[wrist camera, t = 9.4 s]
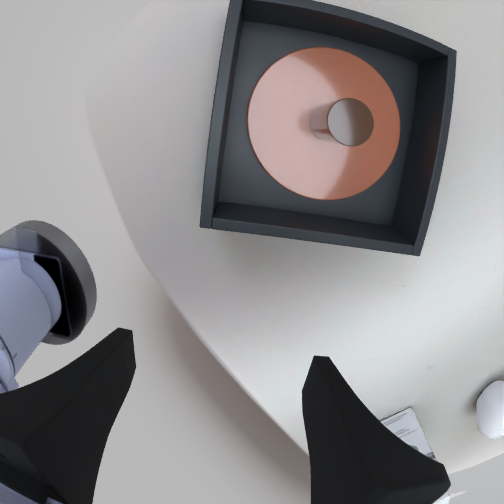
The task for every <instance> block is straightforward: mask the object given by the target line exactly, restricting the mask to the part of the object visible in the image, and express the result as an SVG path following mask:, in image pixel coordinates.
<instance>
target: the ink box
mask: <svg viewBox="0 0 504 504" xmlns="http://www.w3.org/2000/svg"><path fill="white" fill-rule="evenodd" d="M380 422H381V423H382V424H383V425H384V426H385V427H387V428H388V429H389V430H390V431H391V432H392V433H394V434H395V435H396V436H397V437H399V438H400V439H401V440H403V441H404V442H405V443H407V444H408V445H410V446H411V447H413V448H414V449H416V450H417V451H419V452H421V453H422V454H424V455H426V456H428V457H430V458H432V459H433V460H435V461H437V460H436V458H435V456H434V454H433V451H432V449H431V447H430V445H429V442H428V440H427V438H426V436H425V434H424V432H423V430H422V427H421V425H420V423H419V421H418V419H417V417H416V415H415V413H414V411H413V409H412V408H411V407H410V408H408V409H406V410H404V411H402V412H400V413H398V414H396V415H394V416H391V417H389V418H387V419H385V420H382V421H380ZM450 495H451V494H450V492H449V489H448V491H447V492H446V493H445V494H444V495H443V496H441V497H440V498H439V499H438V500H437V501H435V502H434V503H433V504H449V501H450Z"/></svg>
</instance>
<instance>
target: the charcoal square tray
mask: <svg viewBox="0 0 504 504" xmlns="http://www.w3.org/2000/svg"><path fill="white" fill-rule="evenodd" d="M310 47H330V48H335V49H340V50H343V51H346V52H349V53H351V54H353V55H355V56H358V57H359V58H361V59H362V60H364V61H366V62H367V63H368V64H369V65H371V66H372V67H373V68H374V69H375V70H376V71H377V72H378V73H379V74H380V75H381V76H382V77H383V79H384V80H385V81H386V83H387V84H388V86H389V88H390V89H391V91H392V93H393V95H394V98H395V100H396V103H397V107H398V110H399V116H400V138H399V144H398V148H397V151H396V154H395V156H394V159H393V160H392V162H391V164H390V166H389V168H388V169H387V170H386V172H385V173H384V174H383V175H382V177H381V178H380V179H379V180H378V181H377V182H375V183H374V184H373V185H372V186H371V187H369V188H368V189H366V190H364V191H363V192H361V193H358V194H356V195H354V196H351V197H348V198H345V199H339V200H315V199H310V198H306V197H303V196H300V195H297V194H295V193H293V192H291V191H289V190H287V189H286V188H284V187H283V186H281V185H280V184H278V183H277V182H276V181H275V180H274V179H273V178H271V177H270V176H269V174H268V173H267V172H266V171H265V170H264V169H263V167H262V166H261V164H260V163H259V161H258V160H257V158H256V156H255V154H254V152H253V149H252V147H251V144H250V141H249V136H248V131H247V108H248V104H249V99H250V96H251V94H252V91H253V88H254V87H255V85H256V83H257V81H258V79H259V78H260V77H261V75H262V74H263V73H264V71H265V70H266V69H267V68H268V67H269V66H270V65H272V64H273V63H274V62H275V61H277V60H278V59H280V58H281V57H283V56H285V55H287V54H289V53H291V52H294V51H297V50H300V49H304V48H310ZM456 53H457V51H456V50H454V49H452V48H450V47H448V46H446V45H443V44H441V43H439V42H437V41H435V40H433V39H430V38H428V37H426V36H423V35H421V34H419V33H416V32H414V31H411V30H409V29H406V28H404V27H401V26H398V25H396V24H393V23H390V22H387V21H385V20H382V19H379V18H376V17H373V16H370V15H366V14H363V13H360V12H356V11H353V10H349V9H346V8H342V7H338V6H334V5H330V4H326V3H322V2H317V1H313V0H230V3H229V8H228V14H227V19H226V25H225V31H224V36H223V42H222V48H221V55H220V61H219V67H218V74H217V81H216V87H215V94H214V101H213V109H212V116H211V124H210V132H209V140H208V148H207V157H206V166H205V175H204V184H203V194H202V204H201V215H200V227H201V228H208V229H211V228H212V229H216V230H225V231H233V232H241V233H250V234H258V235H266V236H274V237H281V238H289V239H297V240H305V241H312V242H320V243H327V244H335V245H342V246H350V247H357V248H364V249H371V250H379V251H386V252H393V253H400V254H407V255H414V256H420V253H421V250H422V247H423V243H424V240H425V236H426V233H427V229H428V226H429V222H430V218H431V214H432V211H433V207H434V203H435V198H436V194H437V190H438V185H439V181H440V176H441V171H442V166H443V161H444V156H445V150H446V145H447V139H448V132H449V126H450V119H451V111H452V103H453V94H454V83H455V70H456Z"/></svg>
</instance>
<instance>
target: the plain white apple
mask: <svg viewBox="0 0 504 504" xmlns="http://www.w3.org/2000/svg"><path fill="white" fill-rule="evenodd" d="M476 411H477V427H478V430H479V432H480V433H481V434H482V435H483V436H485V437H487V438H489V439H499V438H501V437H502V436H504V381H494V382H493V383H491V384H490V385H488V386H487V387H486V388H485V389H484V390H483V392H482V394H481V395H480V396H479V398H478V399H477V403H476Z"/></svg>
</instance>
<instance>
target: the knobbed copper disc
mask: <svg viewBox="0 0 504 504" xmlns="http://www.w3.org/2000/svg"><path fill="white" fill-rule="evenodd" d="M247 131H248V136H249V141H250V144H251V147H252V149H253V152H254V154H255V156H256V158H257V160H258V161H259V163H260V164H261V166H262V167H263V169H264V170H265V171H266V172H267V173H268V174H269V176H270V177H271V178H273V179H274V180H275V181H276V182H277V183H278V184H280V185H281V186H283V187H284V188H286V189H287V190H289V191H291V192H293V193H295V194H297V195H300V196H303V197H306V198H310V199H315V200H339V199H345V198H348V197H351V196H354V195H356V194H358V193H361V192H363V191H364V190H366V189H368V188H369V187H371V186H372V185H373V184H374V183H375V182H377V181H378V180H379V179H380V178H381V177H382V175H383V174H384V173H385V172H386V170H387V169H388V168H389V166H390V164H391V162H392V160H393V159H394V156H395V154H396V151H397V148H398V144H399V138H400V116H399V110H398V107H397V103H396V100H395V98H394V95H393V93H392V91H391V89H390V88H389V86H388V84H387V83H386V81H385V80H384V79H383V77H382V76H381V75H380V74H379V73H378V72H377V71H376V70H375V69H374V68H373V67H372V66H371V65H369V64H368V63H367V62H366V61H364V60H362V59H361V58H359V57H358V56H355V55H353V54H351V53H349V52H346V51H343V50H340V49H335V48H330V47H310V48H304V49H300V50H297V51H294V52H291V53H289V54H287V55H285V56H283V57H281V58H280V59H278V60H277V61H275V62H274V63H273V64H272V65H270V66H269V67H268V68H267V69H266V70H265V71H264V73H263V74H262V75H261V77H260V78H259V79H258V81H257V83H256V85H255V87H254V88H253V91H252V94H251V96H250V99H249V104H248V108H247Z"/></svg>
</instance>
